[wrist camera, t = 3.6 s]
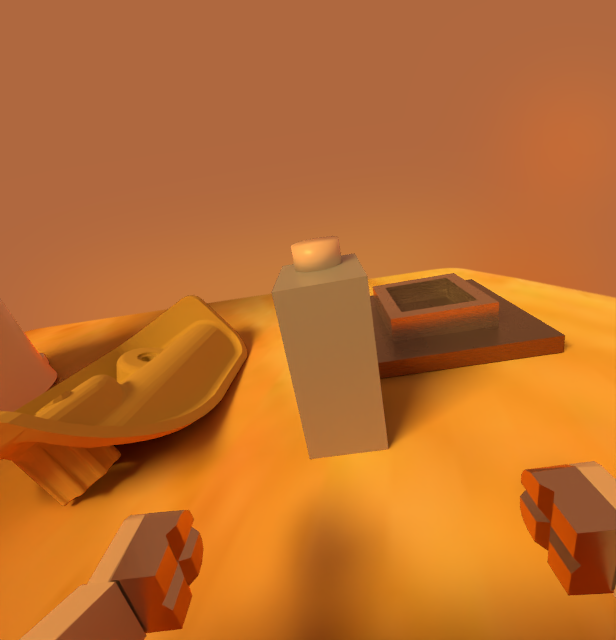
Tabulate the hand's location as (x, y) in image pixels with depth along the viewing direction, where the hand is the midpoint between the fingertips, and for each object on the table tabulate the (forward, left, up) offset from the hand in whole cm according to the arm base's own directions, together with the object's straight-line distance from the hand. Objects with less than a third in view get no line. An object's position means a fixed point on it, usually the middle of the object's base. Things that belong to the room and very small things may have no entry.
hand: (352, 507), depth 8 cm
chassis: (+8, +21, -5) cm, 23 cm away
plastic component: (-15, +14, -6) cm, 21 cm away
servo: (0, +10, -5) cm, 11 cm away
